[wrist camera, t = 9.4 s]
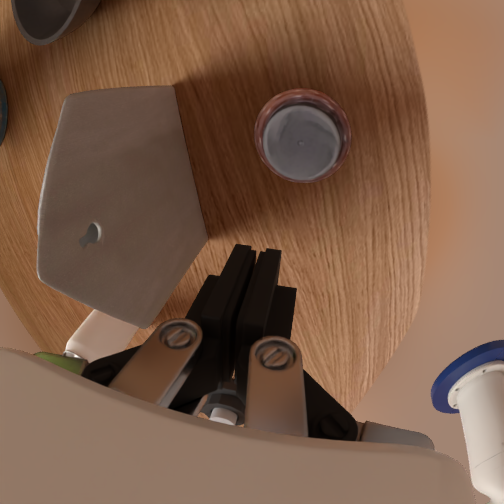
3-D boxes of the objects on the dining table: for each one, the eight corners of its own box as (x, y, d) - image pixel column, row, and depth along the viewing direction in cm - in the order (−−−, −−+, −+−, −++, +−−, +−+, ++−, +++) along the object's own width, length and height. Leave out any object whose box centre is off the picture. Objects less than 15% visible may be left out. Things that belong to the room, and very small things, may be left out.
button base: (270, 386, 42) (266, 408, 39) (263, 416, 47) (259, 435, 44) (193, 369, 44) (185, 389, 40) (197, 401, 49) (190, 419, 45)
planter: (108, 107, 26) (-58, 160, 9) (174, 84, 24) (-11, 108, 8) (146, 245, 33) (39, 368, 17) (209, 240, 32) (113, 392, 15)
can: (141, 296, 38) (94, 361, 28) (147, 330, 41) (108, 392, 31) (103, 284, 39) (53, 341, 28) (111, 318, 42) (69, 374, 32)
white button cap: (238, 410, 41) (235, 421, 39) (237, 421, 43) (234, 431, 41) (212, 404, 42) (208, 414, 40) (213, 415, 44) (209, 425, 42)
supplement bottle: (268, 153, 26) (239, 192, 16) (272, 87, 23) (242, 82, 13) (336, 160, 25) (350, 206, 15) (343, 95, 22) (364, 93, 12)
